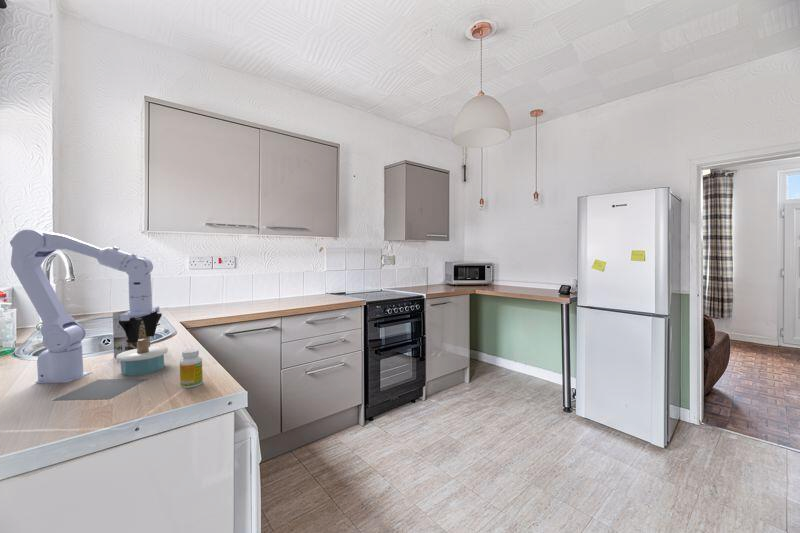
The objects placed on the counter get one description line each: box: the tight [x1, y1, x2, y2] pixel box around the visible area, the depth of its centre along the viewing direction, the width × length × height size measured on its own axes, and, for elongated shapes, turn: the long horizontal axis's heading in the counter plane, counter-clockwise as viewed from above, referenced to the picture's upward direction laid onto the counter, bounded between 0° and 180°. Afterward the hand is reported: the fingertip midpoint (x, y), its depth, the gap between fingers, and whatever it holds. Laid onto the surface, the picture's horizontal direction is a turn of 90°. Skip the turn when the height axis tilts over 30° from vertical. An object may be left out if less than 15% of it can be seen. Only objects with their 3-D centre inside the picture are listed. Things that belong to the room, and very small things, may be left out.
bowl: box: [120, 354, 165, 376], centre depth 110 cm, size 11×11×5 cm
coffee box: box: [112, 309, 151, 358], centre depth 127 cm, size 9×6×16 cm
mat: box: [53, 378, 148, 401], centre depth 94 cm, size 14×14×1 cm
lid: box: [115, 338, 169, 362], centre depth 110 cm, size 13×13×5 cm
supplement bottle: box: [179, 348, 204, 389], centre depth 98 cm, size 5×5×10 cm
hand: (142, 339), depth 109 cm, fingers open, 7 cm apart
